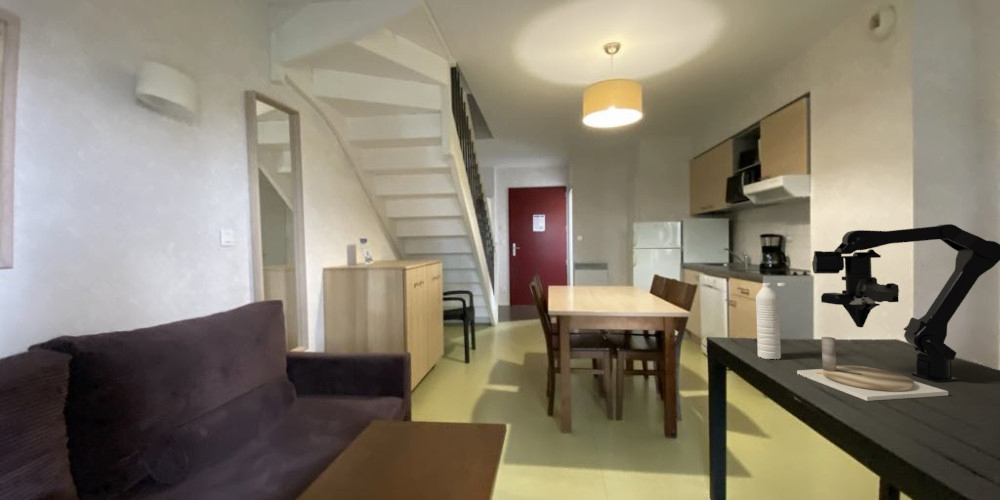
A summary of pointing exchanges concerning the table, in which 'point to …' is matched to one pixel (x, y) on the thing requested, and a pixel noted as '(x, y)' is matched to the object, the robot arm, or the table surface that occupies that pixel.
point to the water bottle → (768, 322)
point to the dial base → (872, 394)
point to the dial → (860, 372)
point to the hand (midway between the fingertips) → (860, 327)
